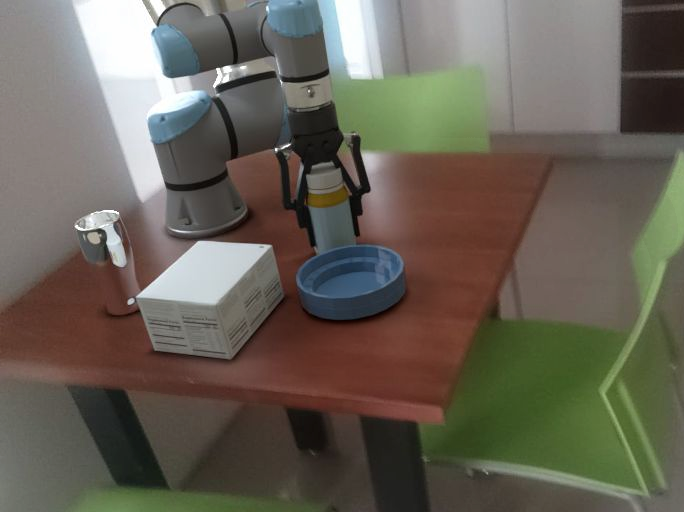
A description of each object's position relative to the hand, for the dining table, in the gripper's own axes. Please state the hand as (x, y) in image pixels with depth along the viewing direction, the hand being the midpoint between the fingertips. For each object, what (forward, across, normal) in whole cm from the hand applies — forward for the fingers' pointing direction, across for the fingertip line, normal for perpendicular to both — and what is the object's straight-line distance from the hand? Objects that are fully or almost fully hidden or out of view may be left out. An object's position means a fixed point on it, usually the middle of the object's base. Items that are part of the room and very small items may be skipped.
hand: (334, 238), depth 132 cm
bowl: (+3, 0, -16) cm, 16 cm away
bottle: (+3, 0, 0) cm, 3 cm away
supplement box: (+3, -21, -15) cm, 25 cm away
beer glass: (+3, -35, -2) cm, 35 cm away
